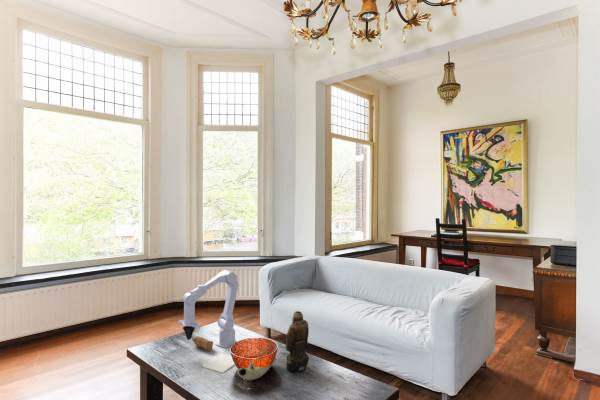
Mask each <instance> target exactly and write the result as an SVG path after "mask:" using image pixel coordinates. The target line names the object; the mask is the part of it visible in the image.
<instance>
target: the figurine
mask: <svg viewBox="0 0 600 400" xmlns="http://www.w3.org/2000/svg"><path fill="white" fill-rule="evenodd" d="M191 340H192V341H193V342H194V345H195V346H196V347H197V348H201V349H205V350H208V351H209V352H210V351H212V350H213V347H214V346H213V345H214V341H212V340H209V339H207V338H204V337H203V336H202V337H201V336H198V335H197V336H192V338H191Z"/></svg>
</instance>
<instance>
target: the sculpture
mask: <svg viewBox="0 0 600 400" xmlns="http://www.w3.org/2000/svg"><path fill="white" fill-rule="evenodd" d="M291 320H292V322H291V323H290V325H289V327H288V330H287V333H286V335H285V338H286V340H285V343H286V345H285V346H286V347H285V349H286V351H287V352H289V353H288V354H287V355H286V364H285V369H286V370H287V371H289V372H291V373H295V374H297V373H302V372H304V371H305V370H306V369H307V366H308V364H309V361H310V360H309V359H310V358H309V355H308V354H307V351H306V350H308V349H309V347H310V346H309V340H308V338H309V329H310V328H309V323H308V321H307V320H305V319H304V315H303V313H302V311H299V310H298V311H294V313H293V315H292V319H291Z"/></svg>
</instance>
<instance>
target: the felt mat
mask: <svg viewBox="0 0 600 400" xmlns="http://www.w3.org/2000/svg"><path fill="white" fill-rule="evenodd" d="M231 356H232V355H229V354H226V353H222V352H221V353H220V354H218V355H216V356H215V357H214V358H212V359H209V361H207V362H206V363H204V364H202V365H201V368H204V369H207V370H211V371H215V372H217V373H220V374H225V372H227V371H229V370H230V369H232V368H233V367H235V365H236V364H234V362H233V360H232V357H231Z"/></svg>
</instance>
